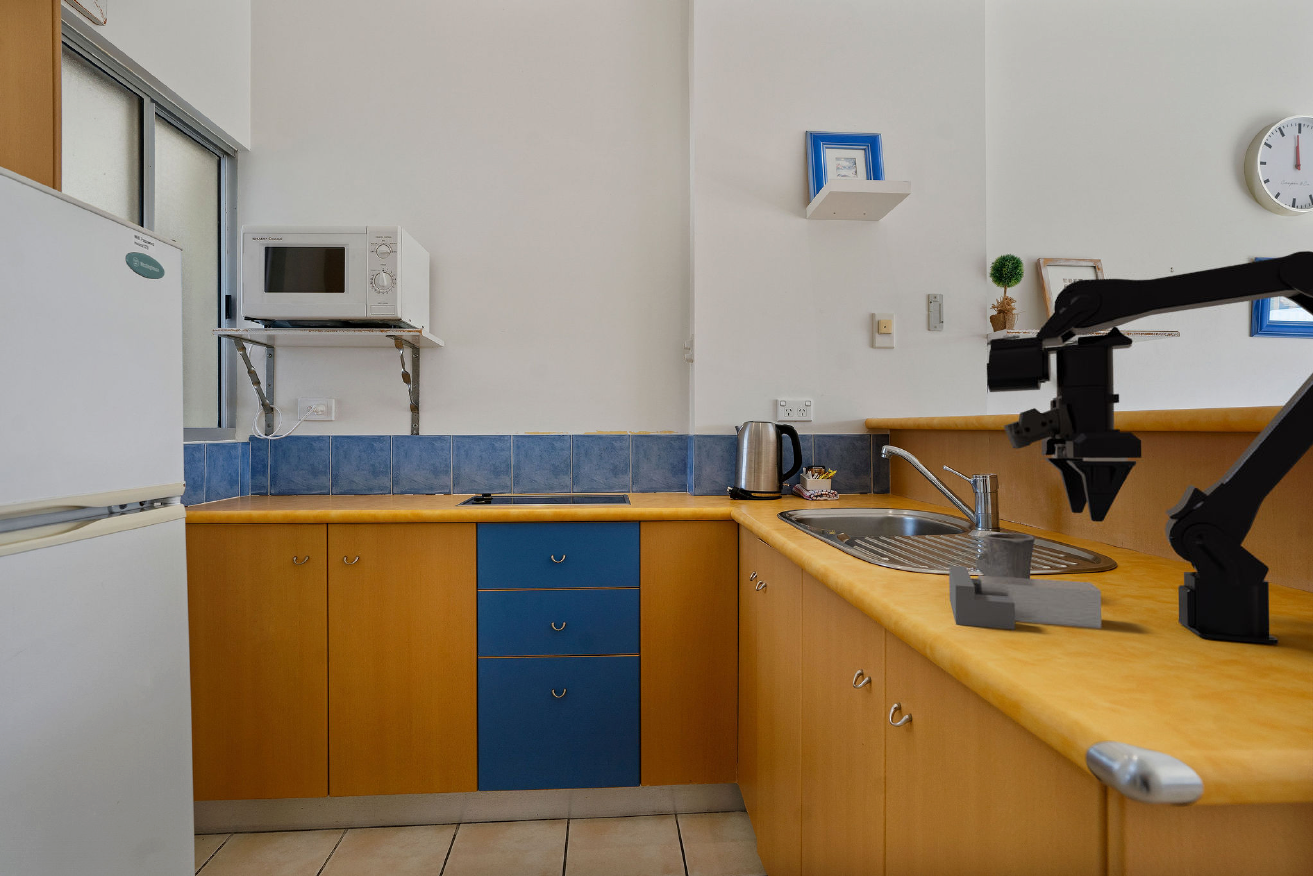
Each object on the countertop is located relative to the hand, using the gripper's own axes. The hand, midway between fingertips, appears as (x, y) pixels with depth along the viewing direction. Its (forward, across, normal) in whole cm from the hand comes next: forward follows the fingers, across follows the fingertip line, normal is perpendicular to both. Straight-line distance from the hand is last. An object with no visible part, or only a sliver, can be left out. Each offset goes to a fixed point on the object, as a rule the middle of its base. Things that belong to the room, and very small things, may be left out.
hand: (1086, 516), depth 76 cm
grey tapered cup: (+12, -14, -8) cm, 20 cm away
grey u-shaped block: (+12, +3, -12) cm, 17 cm away
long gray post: (+12, +3, -6) cm, 14 cm away
